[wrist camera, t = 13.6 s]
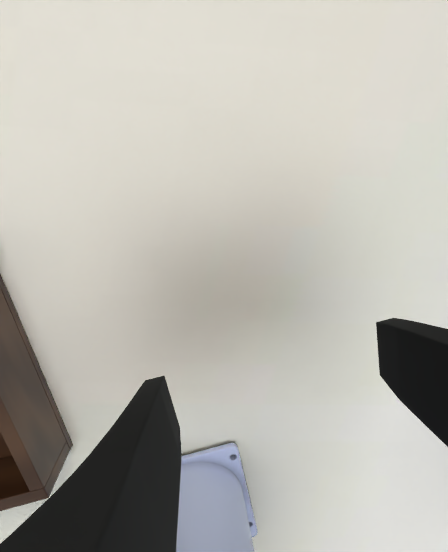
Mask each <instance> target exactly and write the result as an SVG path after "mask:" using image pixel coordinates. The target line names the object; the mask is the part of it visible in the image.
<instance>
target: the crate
mask: <svg viewBox="0 0 448 552" xmlns="http://www.w3.org/2000/svg"><path fill="white" fill-rule="evenodd" d="M71 447H72V442H71V440H70V437H69V435H68V432H67V430H66V428H65V425H64V423H63V421H62V418H61V416H60V414H59V411H58V409H57V407H56V404H55V402H54V400H53V397H52V395H51V392H50V390H49V388H48V385H47V383H46V381H45V378H44V376H43V374H42V371H41V369H40V367H39V364H38V362H37V360H36V357H35V355H34V352H33V350H32V348H31V345H30V343H29V341H28V338H27V336H26V334H25V331H24V329H23V327H22V324H21V322H20V319H19V317H18V315H17V312H16V310H15V308H14V305H13V303H12V301H11V298H10V296H9V294H8V291H7V289H6V287H5V284H4V282H3V279H2V277H1V275H0V511H2V510H6V509H10V508H13V507H17V506H21V505H24V504H28V503H32V502H35V501H39V500H43V499H46V498H48V497H49V496H50V493H51V491H52V489H53V487H54V484H55V482H56V480H57V478H58V476H59V473H60V471H61V469H62V467H63V464H64V462H65V460H66V458H67V455H68V453H69V451H70V449H71Z"/></svg>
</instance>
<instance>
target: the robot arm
mask: <svg viewBox="0 0 448 552" xmlns="http://www.w3.org/2000/svg"><path fill="white" fill-rule="evenodd" d="M376 326H377V340H378V355H379V369H380V376H381V377H382V378H383V379H384V381H385V382H386V383H387V385H388V386H389V387H390V389H391V390H392V391H393V392H394V393H395V395H396V396H397V397H398V398H399V399H400V401H401V402H402V403H403V404H404V405H405V406H406V407H407V408H408V409H409V410H410V411H411V412H412V413H414V414H415V415H416V416H417V417H418V418H419V419H420V420H421V421H422V422H423V423H424V424H425V425H426V426H427V427H428V428H429V429H430V430H431V431H432V432H433V433H434V434H435V435H436V436H437V437H438V438H439V439H440V440H441V441H442V442H443V443H445V444H446V445H447V446H448V329H445V328H440V327H436V326H432V325H428V324H423V323H419V322H414V321H409V320H404V319H397V318H392V319H388V320H384V321H380V322H376ZM233 454H234V456H231V455H233ZM256 535H257V526H256V522H255V518H254V514H253V510H252V505H251V501H250V497H249V493H248V489H247V484H246V480H245V476H244V472H243V467H242V463H241V459H240V455H239V451H238V447H237V445H236V444H235V443H228V444H225V445H221V446H217V447H214V448H210V449H206V450H203V451H199V452H195V453H191V454H188V455H184V456H181V440H180V427H179V423H178V420H177V417H176V413H175V410H174V407H173V403H172V400H171V396H170V393H169V390H168V386H167V383H166V380H165V376H161V377H157V378H153V379H149V380H145V382H144V383H143V384H142V386H141V387H140V389H139V390H138V391H137V393H136V394H135V396H134V397H133V399H132V400H131V401H130V403H129V404H128V406H127V407H126V408H125V410H124V411H123V413H122V414H121V415H120V417H119V418H118V419H117V421H116V422H115V424H114V425H113V426H112V428H111V429H110V430H109V431H108V432H107V434H106V435H105V436H104V437H103V439H102V440H101V441H100V442H99V444H98V445H97V446H96V447H95V449H94V450H93V451H92V452H91V454H90V455H89V456H88V457H87V458H86V460H85V461H84V462H83V463H82V464H81V465H80V466H79V467H78V469H77V470H76V471H75V472H74V473H73V474H72V475H71V476H70V477H69V478H68V479H67V480H66V481H65V482H64V484H63V485H62V486H61V487H60V488H59V489H58V490H57V491H56V492H55V493H54V494H53V495H52V496H51V497H50V498H49V499H48V500H47V501H46V502H45V503H44V504H43V505H42V506H41V507H39V508H38V509H37V510H36V511H35V512H34V513H33V514H32V515H31V516H30V517H29V518H28V519H27V520H26V521H25V522H24V523H23V524H22V525H20V526H19V527H18V528H17V529H16V530H15V531H14V532H13V533H12V534H11V535H10V536H9V537H8V538H6V539H5V540H4V541H3V542H2V543H1V544H0V552H254V547H253V542H252V537H254V536H256Z"/></svg>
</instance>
